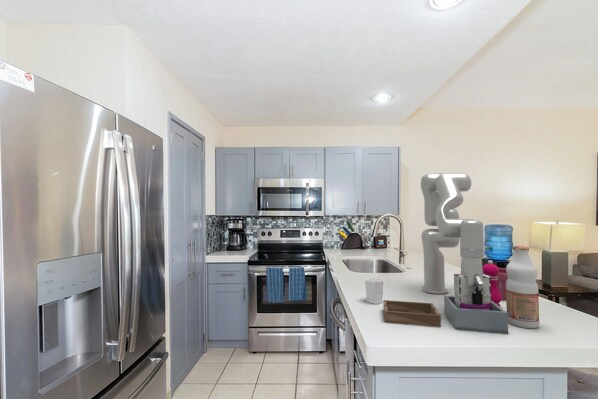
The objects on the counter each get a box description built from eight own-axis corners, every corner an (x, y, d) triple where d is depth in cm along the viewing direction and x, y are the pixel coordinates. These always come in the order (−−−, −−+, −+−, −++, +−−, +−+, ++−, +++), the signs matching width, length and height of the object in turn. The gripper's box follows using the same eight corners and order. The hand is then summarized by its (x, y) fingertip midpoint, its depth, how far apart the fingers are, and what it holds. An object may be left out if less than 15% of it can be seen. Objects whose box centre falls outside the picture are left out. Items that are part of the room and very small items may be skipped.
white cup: (384, 300, 135) (383, 278, 135) (383, 305, 127) (382, 282, 128) (366, 298, 137) (366, 277, 138) (364, 303, 130) (364, 280, 130)
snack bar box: (484, 317, 110) (483, 273, 111) (492, 322, 105) (491, 276, 106) (454, 316, 111) (453, 273, 111) (460, 322, 106) (459, 276, 106)
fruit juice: (500, 320, 110) (498, 245, 111) (520, 318, 112) (518, 244, 113) (525, 330, 101) (522, 248, 102) (546, 327, 103) (543, 247, 104)
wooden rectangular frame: (383, 309, 122) (383, 300, 122) (432, 313, 117) (432, 303, 117) (385, 322, 108) (385, 311, 108) (441, 327, 104) (440, 315, 104)
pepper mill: (505, 311, 120) (503, 262, 120) (485, 310, 121) (484, 261, 122) (497, 305, 127) (495, 259, 127) (478, 304, 128) (477, 258, 129)
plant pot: (481, 295, 141) (480, 269, 142) (499, 292, 147) (498, 266, 147) (513, 304, 128) (512, 275, 129) (531, 300, 134) (531, 272, 134)
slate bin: (444, 313, 117) (444, 295, 117) (489, 316, 113) (489, 298, 114) (455, 329, 102) (455, 309, 102) (508, 333, 98) (507, 312, 98)
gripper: (454, 249, 118) (454, 292, 117) (468, 257, 101) (469, 307, 101) (475, 250, 116) (475, 294, 116) (492, 257, 99) (493, 308, 99)
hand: (472, 300), depth 108 cm, fingers open, 9 cm apart
